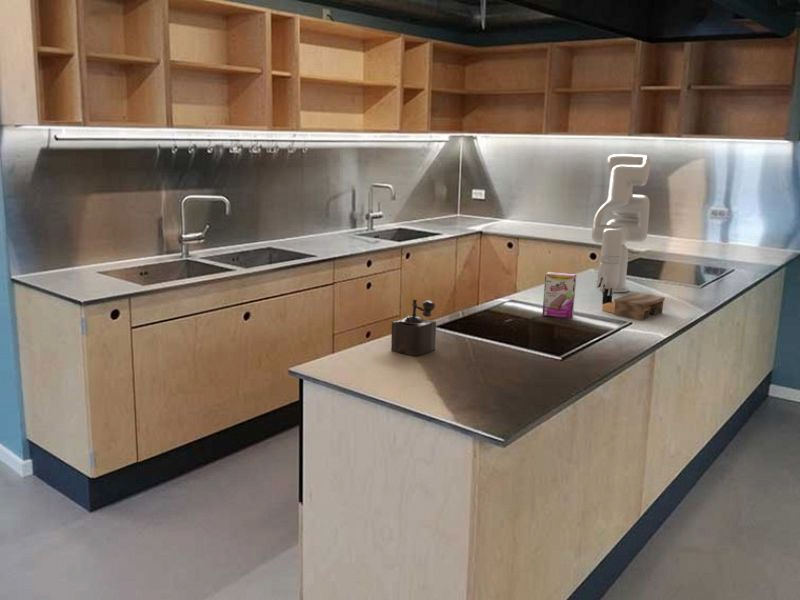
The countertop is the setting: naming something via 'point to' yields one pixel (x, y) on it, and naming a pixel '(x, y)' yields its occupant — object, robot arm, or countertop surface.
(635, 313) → the walnut shelf
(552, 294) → the candy bar box
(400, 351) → the black manual coffee grinder
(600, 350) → the countertop surface
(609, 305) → the orange cover
